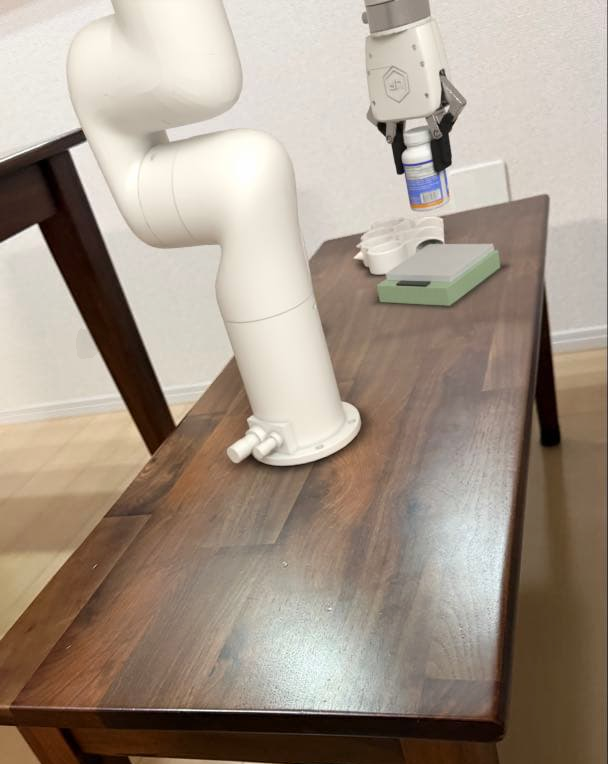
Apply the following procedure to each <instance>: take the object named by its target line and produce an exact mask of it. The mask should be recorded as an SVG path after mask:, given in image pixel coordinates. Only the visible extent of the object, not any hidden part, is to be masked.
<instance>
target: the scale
mask: <svg viewBox="0 0 608 764" xmlns="http://www.w3.org/2000/svg"><path fill="white" fill-rule="evenodd" d="M499 253H500V252H499V250H498V249H495V247H494V243H445V244H429V245H427V246H426V247H424V248H423V249H421V250H420V251H418V252H417V253H415V254H414V255H412V256H411V257H409V258H408V259H406V260H405V261H404V262H402V263H401V264H399V265H398V266H396V267H395V268H393V269H392V270H390V271H389V272H387V273H386V274H385V279H384V280H382V281H381V282H380V283H378V284H376V289H377V293H378V294H377V295H378V299H379V303H388V304H389V303H391V304H408V305H409V304H411V305H427V306H444V307H445V306H447V307H450V306H452V305H453V304H454V303H456V302H457V301H459V300H460V299H461V298H462V297H464V296H465V295H466V294H467V293H468V292H470V291H472V290H473V289H474V288H475V287H477V286H478V285H480V284H481V283H482V282H483V281H485V280H486V279H487V278H489V277H491V275H492V274H494V273H496V271H498V270H499V269H500V268H501V262H500V261H501V260H500V255H499Z"/></svg>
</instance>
